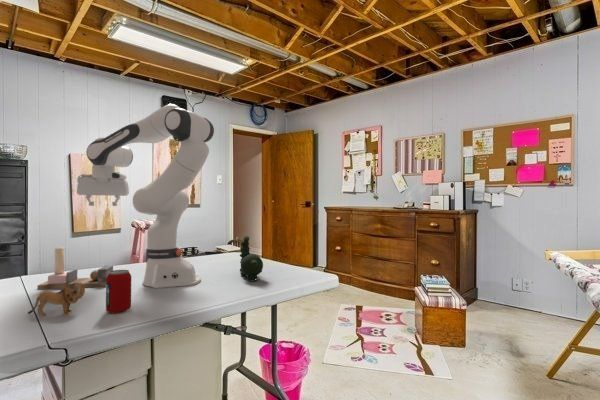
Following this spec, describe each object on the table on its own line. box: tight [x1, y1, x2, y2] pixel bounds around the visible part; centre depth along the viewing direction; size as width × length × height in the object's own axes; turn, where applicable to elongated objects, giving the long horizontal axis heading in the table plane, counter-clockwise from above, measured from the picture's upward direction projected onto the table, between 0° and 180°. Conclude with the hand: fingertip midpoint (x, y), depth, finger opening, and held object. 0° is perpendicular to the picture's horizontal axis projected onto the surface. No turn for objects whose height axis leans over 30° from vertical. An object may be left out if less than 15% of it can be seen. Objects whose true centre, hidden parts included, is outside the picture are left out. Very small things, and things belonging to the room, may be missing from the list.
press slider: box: [47, 247, 78, 284], centre depth 131 cm, size 7×8×13 cm
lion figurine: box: [27, 282, 86, 317], centre depth 98 cm, size 15×5×9 cm, turn 105°
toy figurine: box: [239, 235, 264, 281], centre depth 147 cm, size 9×19×25 cm
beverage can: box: [105, 269, 132, 315], centre depth 101 cm, size 7×7×12 cm
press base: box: [36, 265, 114, 290], centre depth 132 cm, size 24×10×6 cm, turn 102°
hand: (103, 205), depth 148 cm, fingers open, 8 cm apart
